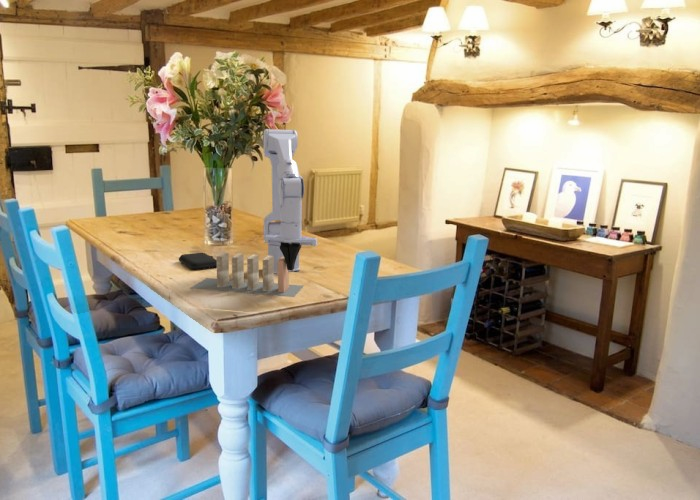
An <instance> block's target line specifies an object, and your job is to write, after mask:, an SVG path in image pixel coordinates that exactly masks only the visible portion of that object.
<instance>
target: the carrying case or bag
mask: <svg viewBox="0 0 700 500" xmlns="http://www.w3.org/2000/svg"><path fill="white" fill-rule="evenodd" d="M178 261H179V263H181V264H182V265H184V266H185V267H187V268H189V269H191V271H202V270H209V269H210V270H211V269H217V258H214V256H213V255H210V254H207V253H205V252H194V253H185V254H181V255H180V256H179V257H178Z"/></svg>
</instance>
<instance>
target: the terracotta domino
mask: <svg viewBox="0 0 700 500" xmlns="http://www.w3.org/2000/svg"><path fill="white" fill-rule="evenodd" d="M277 270H278V273H277V284H278V292H285V291H286V290H287V289H288V288H289V284H290V280H289V277H290V276H289V272H288V270H287V265H286V261H285V258H284V257H281V258H280V259H279V260H277Z"/></svg>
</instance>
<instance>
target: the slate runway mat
mask: <svg viewBox="0 0 700 500" xmlns="http://www.w3.org/2000/svg"><path fill="white" fill-rule="evenodd" d="M303 288H304V285H300V284H290V283H289V288H288V289H287V290H286V291H285V292H278V282H277V283H275V282H274V287H272V288H271V289H270V290H269V291H263V281H262V282H261V281H259V285H258V286H257V287H256V288H255V289H254V290H248V288H247V280H244V284H243V285H242V286H241V287H239V288H238V289H235V288H232V279H229V283H228V284H227V285H225V286H224V287H223V288H222V287H217V278H213V277H205V278H203V279H202V280H201V281H199V282H198V283H196V284H195V285H193V286H192V287H190V289H193V290H194V289H196V290H204V291H205V290H206V291H217V292H228V293H229V292H230V293H243V294H253V295H266V296H277V297H279V296H280V297H290V298H292V297H293V298H294V297H296V296H297V294H298V293H299V292H300V291H301V290H302V289H303Z"/></svg>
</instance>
